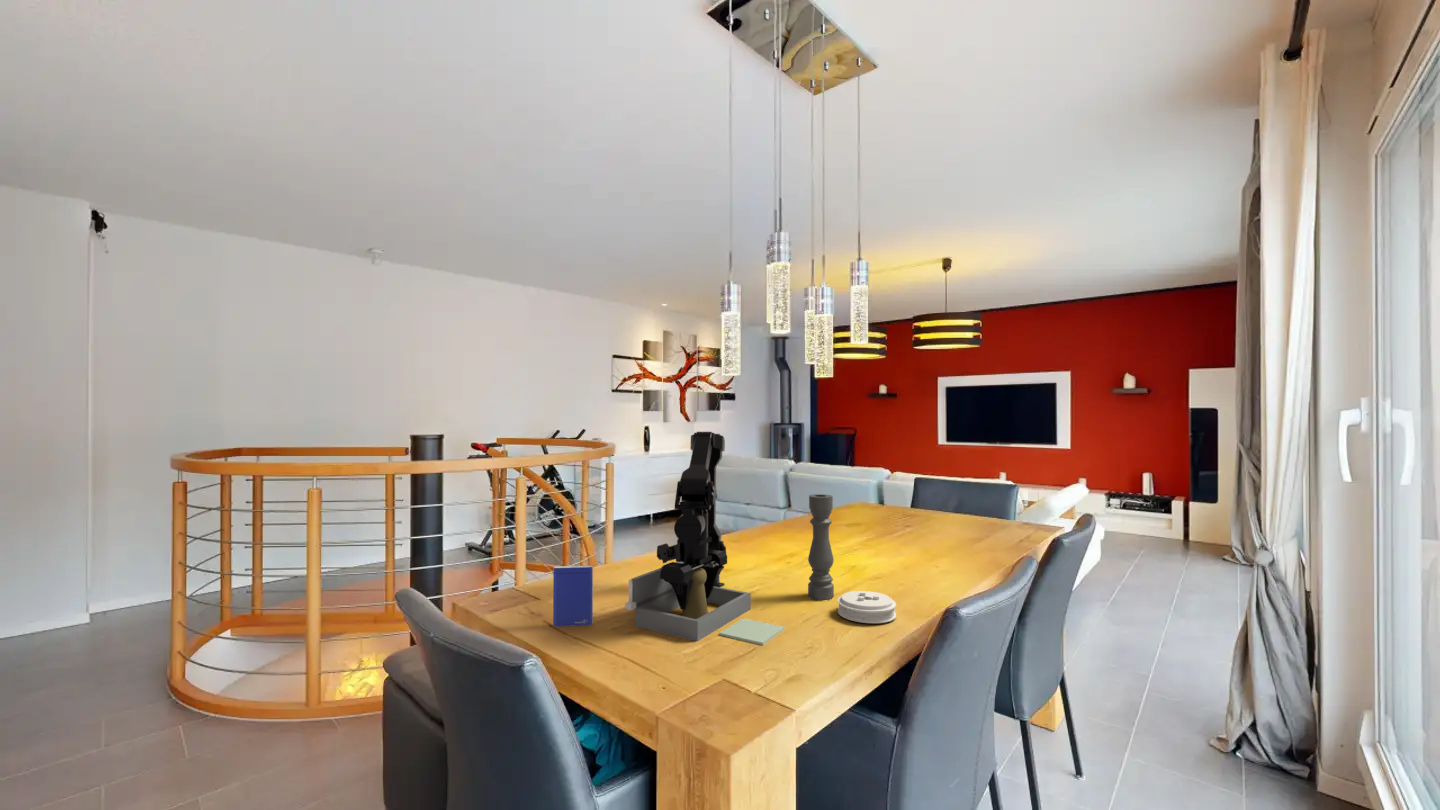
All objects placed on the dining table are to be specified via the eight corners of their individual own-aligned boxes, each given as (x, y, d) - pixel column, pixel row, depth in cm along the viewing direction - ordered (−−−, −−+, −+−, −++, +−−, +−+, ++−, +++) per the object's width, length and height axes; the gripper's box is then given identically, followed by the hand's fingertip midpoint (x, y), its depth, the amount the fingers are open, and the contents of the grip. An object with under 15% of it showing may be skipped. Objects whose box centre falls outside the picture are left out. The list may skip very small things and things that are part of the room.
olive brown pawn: (688, 624, 129) (688, 573, 129) (676, 616, 135) (676, 566, 135) (713, 620, 132) (713, 570, 132) (701, 612, 138) (701, 563, 138)
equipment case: (688, 598, 148) (688, 557, 148) (750, 610, 139) (750, 566, 139) (625, 627, 128) (625, 580, 128) (693, 644, 119) (693, 593, 119)
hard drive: (592, 625, 129) (592, 567, 129) (552, 626, 128) (553, 568, 128) (592, 622, 131) (593, 565, 131) (554, 624, 130) (554, 566, 130)
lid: (906, 625, 130) (906, 602, 130) (852, 629, 127) (852, 606, 127) (879, 606, 142) (879, 585, 142) (829, 610, 140) (829, 588, 140)
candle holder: (837, 596, 149) (837, 495, 149) (827, 603, 144) (827, 498, 144) (814, 592, 152) (814, 493, 152) (803, 599, 147) (803, 496, 147)
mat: (743, 621, 132) (743, 618, 132) (784, 629, 126) (784, 627, 126) (719, 635, 123) (719, 632, 123) (762, 645, 118) (762, 642, 118)
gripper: (688, 522, 146) (688, 587, 146) (639, 536, 130) (639, 609, 130) (728, 527, 140) (728, 594, 140) (682, 542, 124) (682, 618, 124)
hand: (694, 603), depth 133 cm, fingers open, 9 cm apart
